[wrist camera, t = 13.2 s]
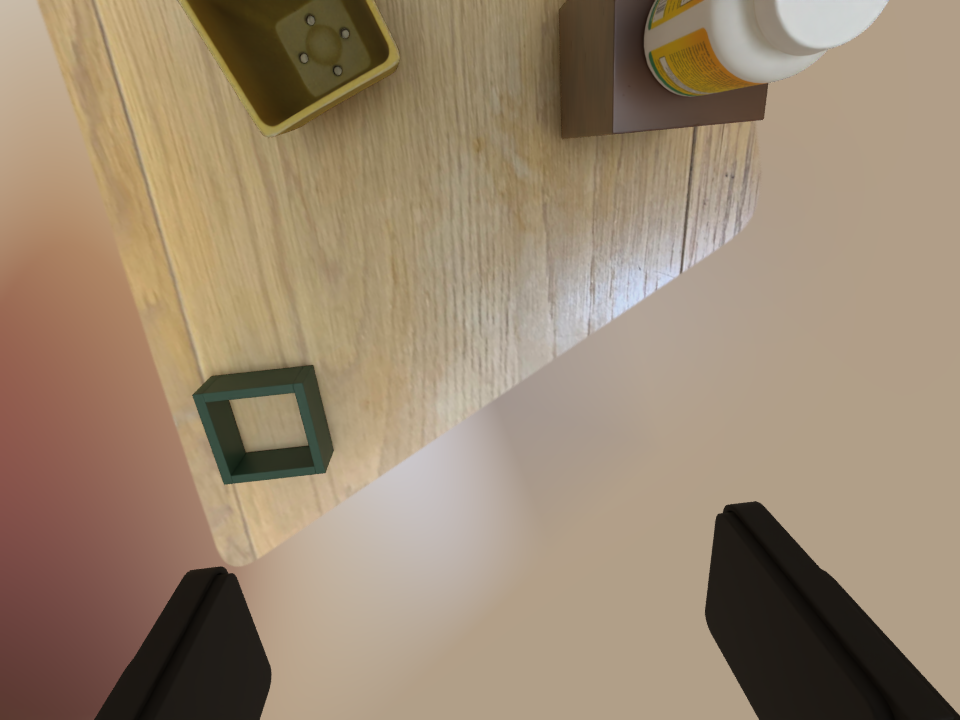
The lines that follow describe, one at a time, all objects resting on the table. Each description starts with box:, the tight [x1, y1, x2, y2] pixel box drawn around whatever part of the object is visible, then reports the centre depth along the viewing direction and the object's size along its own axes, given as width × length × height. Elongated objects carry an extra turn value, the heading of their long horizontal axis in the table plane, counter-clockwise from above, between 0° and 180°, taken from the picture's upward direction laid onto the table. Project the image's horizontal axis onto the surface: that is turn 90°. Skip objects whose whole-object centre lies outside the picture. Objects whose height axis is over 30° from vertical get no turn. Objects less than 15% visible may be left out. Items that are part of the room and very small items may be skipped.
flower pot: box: [178, 0, 400, 137], centre depth 29 cm, size 9×9×9 cm
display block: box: [559, 0, 768, 139], centre depth 30 cm, size 8×8×12 cm
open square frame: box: [192, 365, 334, 484], centre depth 42 cm, size 9×9×4 cm
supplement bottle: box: [644, 0, 889, 97], centre depth 20 cm, size 5×5×10 cm
